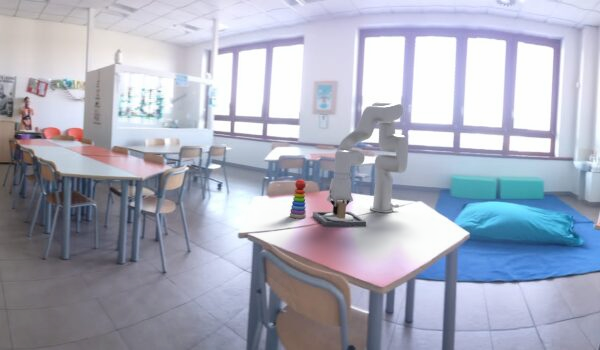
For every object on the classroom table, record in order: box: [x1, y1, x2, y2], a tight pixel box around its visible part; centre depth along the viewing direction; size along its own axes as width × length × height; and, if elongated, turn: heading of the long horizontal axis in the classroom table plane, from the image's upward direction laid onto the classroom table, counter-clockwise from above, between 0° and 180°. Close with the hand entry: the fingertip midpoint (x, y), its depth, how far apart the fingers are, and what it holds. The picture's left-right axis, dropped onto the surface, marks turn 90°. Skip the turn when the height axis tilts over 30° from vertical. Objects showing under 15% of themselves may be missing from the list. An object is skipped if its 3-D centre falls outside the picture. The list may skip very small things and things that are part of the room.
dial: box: [324, 200, 353, 221], centre depth 190 cm, size 14×14×8 cm
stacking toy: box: [289, 178, 307, 219], centre depth 193 cm, size 8×8×19 cm
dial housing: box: [312, 211, 367, 228], centre depth 191 cm, size 20×20×2 cm
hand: (338, 213), depth 190 cm, fingers closed on dial, 3 cm apart
